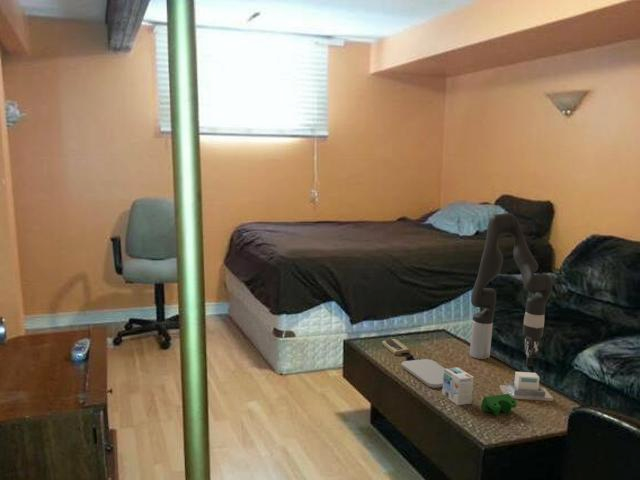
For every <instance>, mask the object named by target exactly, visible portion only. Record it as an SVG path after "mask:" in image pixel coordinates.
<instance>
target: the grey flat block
mask: <svg viewBox="0 0 640 480" xmlns="http://www.w3.org/2000/svg"><path fill="white" fill-rule="evenodd" d="M499 389H500V391H501V392H502V393H503V394H509V395H510V396H511V397H512V398H513V399H514V400H517V399H518V400H519V399H520V400H534V401H543V402H544V401H545V402H546V401H547V402H553V401H554V397H553V396H552V395H551V393H549V392H548V390H547V389H546V388H545V387H542V386H541V385H540V384H539V389H538V391H537V390H522V389H516V387H515V386H514V381H512V380H511V381H510V380H509V381H508V384H507V385H506V384H505V385H504V384H499Z"/></svg>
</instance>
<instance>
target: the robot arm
mask: <svg viewBox="0 0 640 480" xmlns="http://www.w3.org/2000/svg"><path fill="white" fill-rule="evenodd" d="M487 223H488V224H487V230H486V237H485V244H484V248H483V252H482V254H481V255H482V256H481V260H480V264H479V268H478V272H477V276H476V280H475V283H474V286H473V288H472V292H471V295H470V296H471V297H470V302H471V305H472V306H473V307H475V308H484V309H483V310H481V311H478V312H475V313H474V314H473V315H472V325H471V335H470V336H471V337H470V345H469V346H470V347H469V356H470V357H472V358H474V359H479V360H488V359H490V358H491V357H490V356H491V348H492V347H491V345H492V336H493V335H492V334H493V324H494V316H495V308H496V303H497V292H496V290H495V289H494V288H491V287H489V288H488V287H486V286H487V285H488V284H489V283H490V282H491V281H492V280H494V279H495V278H496V277H497V276H498V275H499V274H500V272H501V270H502V267H503V262H504V255H503V254H502V253H503V252H502V251H501V249H500V247H499V245H498V243H499V242H498V240H499V238H500V237H501V236H508V235H510V236H511V238H513V241H514V246H513V250H512V251H513V252H512V256H513V260H514V262H515V264H516V266H517V268H518V270H519V272H520V275H521V279H522V285H523V287H524V288H525V290H526V291H527V292H529V293H533V294H534V293H535V294H534V295H533V296H531V297H528V298H527V299H526V301H525V302H526V303H525V313H524V316H523V325H522V335H523V336H525V338H523V348H524V353H525V355H526V358H525V365H526V366H527V367H533V365H534V359H535V358H537V357H538V355H539V353H540V352H541V351H540V350H541V349H540V348H539V347H538V346H539V341H538V340H539V339H541V338H542V337H543V336H544V330H545V329H544V327H545V313H546V312H545V311H546V304H547V302H548V300H549V297H550V295H551V293H552V289H553V280H552V278H551V276H550V275H549V274H544V273H543V274H542V273H540V274H539V273H538V274H535V273H536V272H537V271H538V269H539V265H538V261H536V258H535V257H534V255H533V254H532V252H531V251H530V248H529V247H528V244H527V241H526V239H525V236H524V233H523V229H522V227H521V225H520V222H519V220H518V218H517V216H516V215H515V214H514V213H512V212H506V213H499V214H493V215H491V217H489V219H488V222H487ZM487 358H488V359H487Z"/></svg>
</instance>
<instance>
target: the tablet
mask: <svg viewBox="0 0 640 480" xmlns="http://www.w3.org/2000/svg"><path fill="white" fill-rule="evenodd" d="M401 366H402V369H404V370H405V371H406V372H407V373H409V374H410V375H411V376H413V377H415V378H416V379H417V380H419V381H420V382H422V383H423V384H424V385H426V386H427V387H430V388H433V389H435V388H443V378H444V369H446V368H445V367H443V366H442V365H441V364H439V363H438V362H436V361H434V360H432V359H429V358H427V359H426V358H423V359H413V360H405V361H402V362H401Z"/></svg>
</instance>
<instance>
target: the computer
mask: <svg viewBox="0 0 640 480" xmlns="http://www.w3.org/2000/svg"><path fill="white" fill-rule="evenodd" d="M381 345H383V347H385V349H387V350H388V351H390V353H391V354H393V355H394V356H403V355H405V356H407V355H411V351H410V348H408V347H407V346H406V345H404V344H403V343H402V342H400V341H399V339H396V338H390V339H386V340H382V342H381Z"/></svg>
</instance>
